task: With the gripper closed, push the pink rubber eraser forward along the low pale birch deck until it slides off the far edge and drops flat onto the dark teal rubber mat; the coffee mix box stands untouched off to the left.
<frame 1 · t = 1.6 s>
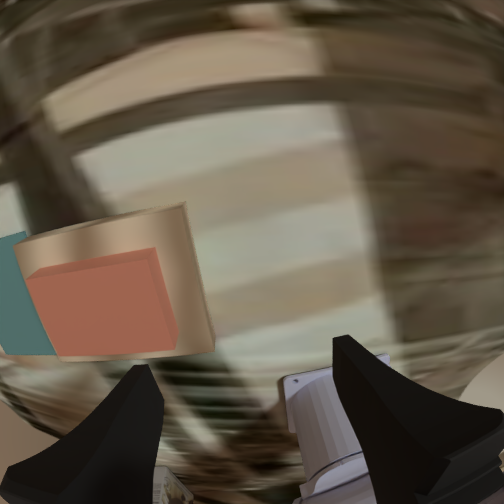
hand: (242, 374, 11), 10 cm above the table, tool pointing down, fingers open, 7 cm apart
mat: (11, 301, 21), on the table
coffee box: (160, 480, 30), on the table
pink rubber eraser: (104, 300, 19), point 2 cm above the table, touching deck
deck: (114, 287, 21), on the table
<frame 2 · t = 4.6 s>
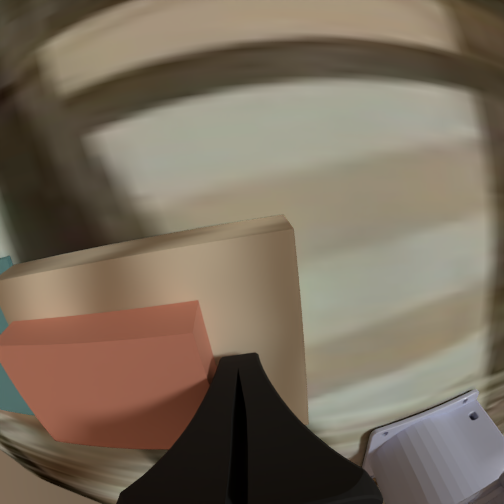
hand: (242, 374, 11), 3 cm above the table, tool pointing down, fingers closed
mat: (0, 350, 13), on the table
pink rubber eraser: (114, 372, 12), point 2 cm above the table
deck: (155, 343, 14), on the table
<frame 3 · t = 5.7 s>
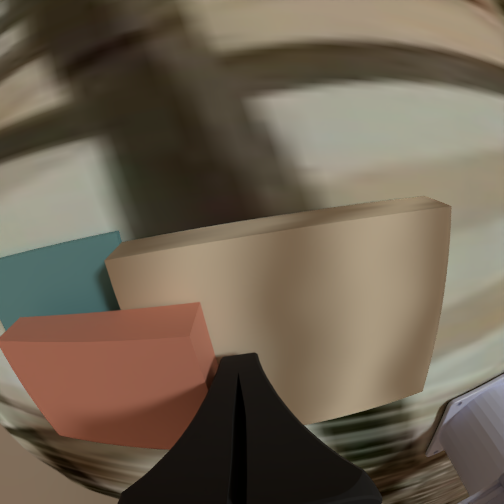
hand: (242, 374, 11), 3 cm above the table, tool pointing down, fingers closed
mat: (76, 348, 14), on the table
pink rubber eraser: (118, 371, 12), point 2 cm above the table, touching gripper
deck: (294, 323, 14), on the table
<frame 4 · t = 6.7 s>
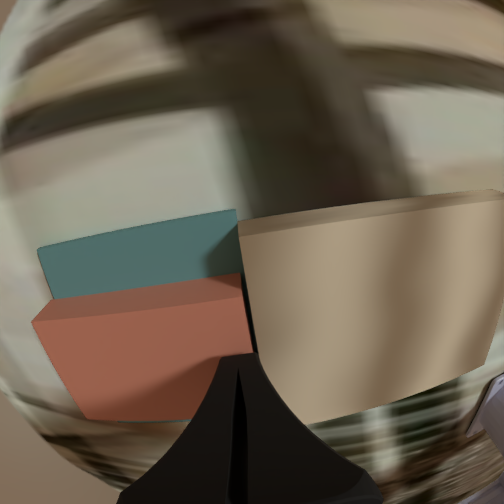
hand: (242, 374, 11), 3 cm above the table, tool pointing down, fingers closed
mat: (159, 342, 14), on the table
pink rubber eraser: (153, 346, 13), resting on mat
deck: (390, 303, 14), on the table
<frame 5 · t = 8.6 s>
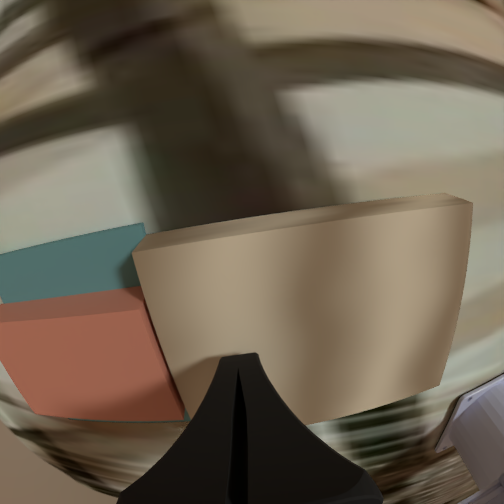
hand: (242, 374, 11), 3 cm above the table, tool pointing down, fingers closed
mat: (91, 346, 13), on the table
pink rubber eraser: (85, 350, 13), resting on mat
deck: (319, 318, 14), on the table
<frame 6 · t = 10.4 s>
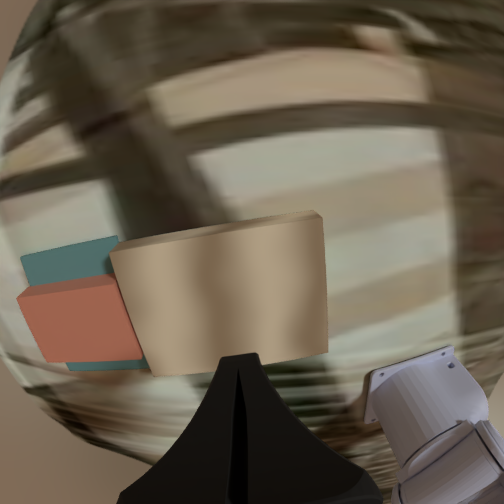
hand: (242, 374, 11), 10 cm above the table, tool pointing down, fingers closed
mat: (87, 313, 21), on the table
pink rubber eraser: (83, 315, 21), resting on mat
deck: (226, 295, 21), on the table
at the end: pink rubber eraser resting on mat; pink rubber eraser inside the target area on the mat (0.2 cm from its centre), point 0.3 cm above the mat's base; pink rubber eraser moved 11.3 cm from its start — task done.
